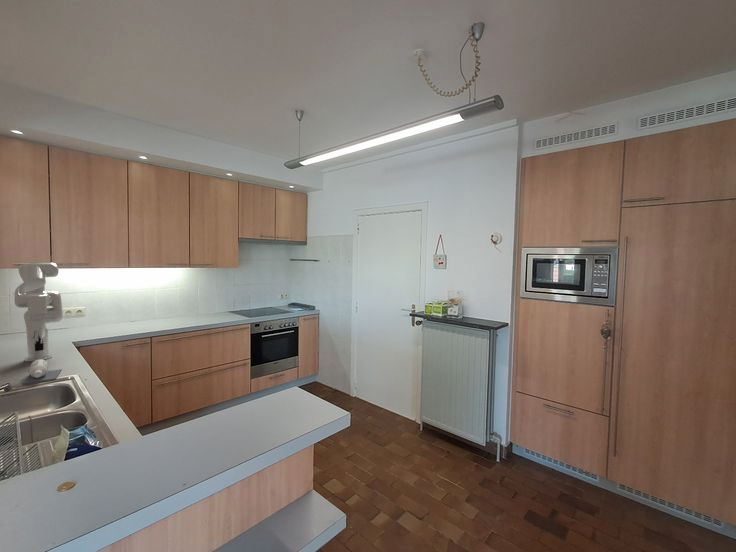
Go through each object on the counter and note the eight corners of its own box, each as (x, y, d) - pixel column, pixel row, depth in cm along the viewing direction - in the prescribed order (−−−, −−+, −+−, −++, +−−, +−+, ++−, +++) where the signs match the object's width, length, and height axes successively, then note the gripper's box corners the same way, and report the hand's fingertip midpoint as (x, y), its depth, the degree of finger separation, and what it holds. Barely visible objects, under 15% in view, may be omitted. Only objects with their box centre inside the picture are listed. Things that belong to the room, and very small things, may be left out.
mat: (30, 374, 182) (30, 373, 182) (61, 370, 189) (61, 369, 189) (21, 384, 168) (21, 383, 168) (55, 379, 175) (55, 378, 175)
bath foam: (28, 371, 182) (26, 381, 168) (32, 358, 183) (30, 367, 168) (45, 371, 187) (44, 381, 172) (49, 359, 188) (49, 368, 173)
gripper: (31, 316, 186) (33, 348, 187) (24, 320, 174) (26, 354, 175) (49, 314, 191) (51, 346, 192) (44, 318, 178) (45, 352, 179)
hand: (39, 350), depth 183 cm, fingers closed
